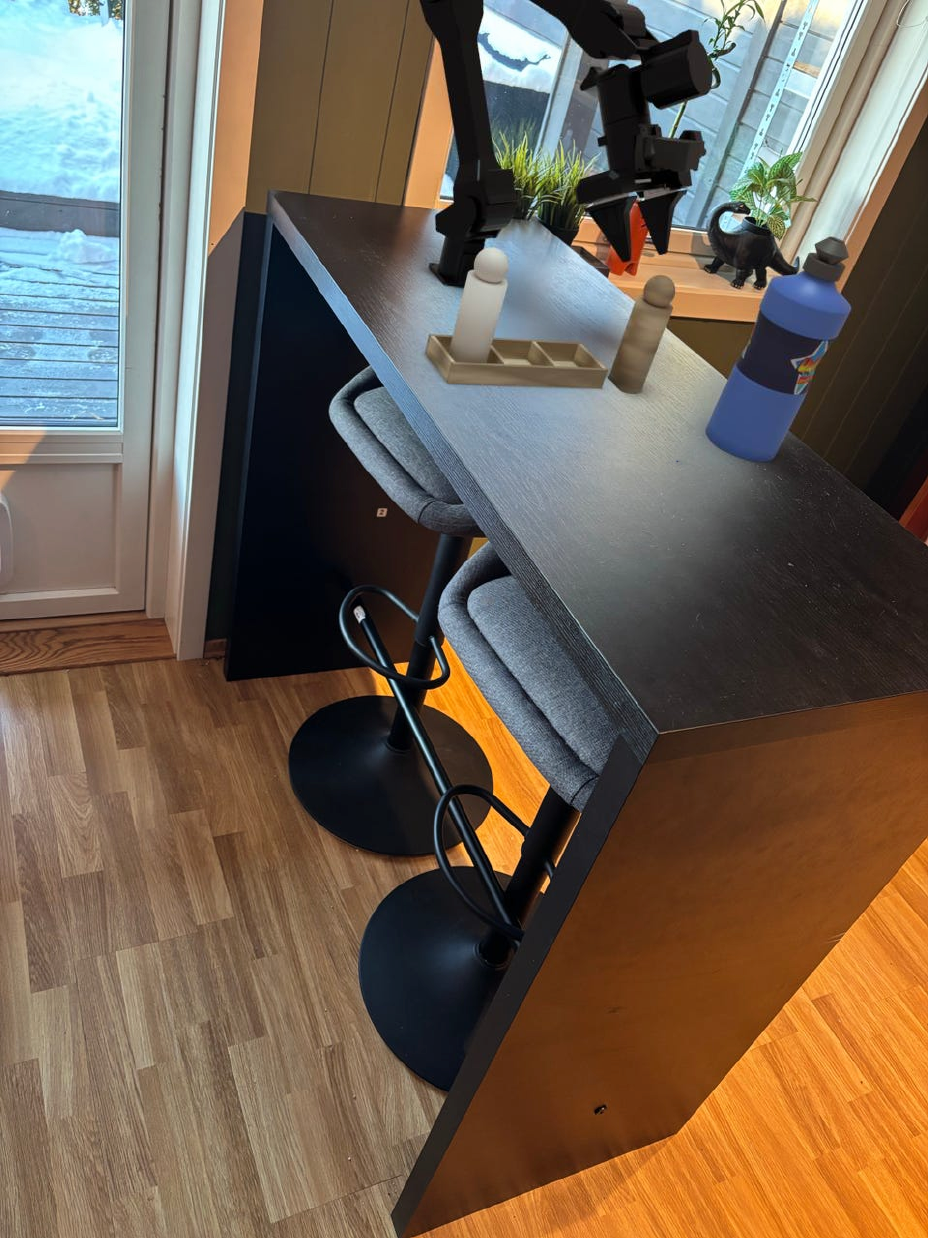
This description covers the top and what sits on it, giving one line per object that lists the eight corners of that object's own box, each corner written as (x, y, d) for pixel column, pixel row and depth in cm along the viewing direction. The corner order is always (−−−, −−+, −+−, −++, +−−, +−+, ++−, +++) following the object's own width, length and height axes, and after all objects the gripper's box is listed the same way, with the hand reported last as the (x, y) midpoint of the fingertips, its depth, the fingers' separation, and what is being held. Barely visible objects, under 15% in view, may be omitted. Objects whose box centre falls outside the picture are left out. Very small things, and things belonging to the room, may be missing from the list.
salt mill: (439, 358, 113) (468, 238, 104) (474, 360, 115) (505, 242, 106) (454, 377, 110) (485, 255, 101) (489, 378, 112) (522, 258, 103)
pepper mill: (601, 375, 123) (639, 266, 114) (629, 376, 125) (670, 269, 116) (618, 392, 120) (659, 282, 111) (647, 393, 122) (690, 285, 113)
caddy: (423, 359, 114) (429, 333, 112) (572, 365, 123) (580, 342, 121) (446, 389, 109) (453, 363, 107) (599, 393, 118) (608, 370, 116)
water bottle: (789, 453, 118) (892, 254, 103) (752, 469, 112) (856, 260, 97) (728, 417, 123) (819, 220, 107) (690, 430, 117) (780, 224, 101)
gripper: (647, 99, 102) (668, 252, 107) (722, 101, 115) (738, 237, 120) (562, 129, 110) (585, 271, 114) (642, 128, 123) (659, 255, 127)
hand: (645, 257), depth 119 cm, fingers open, 9 cm apart
